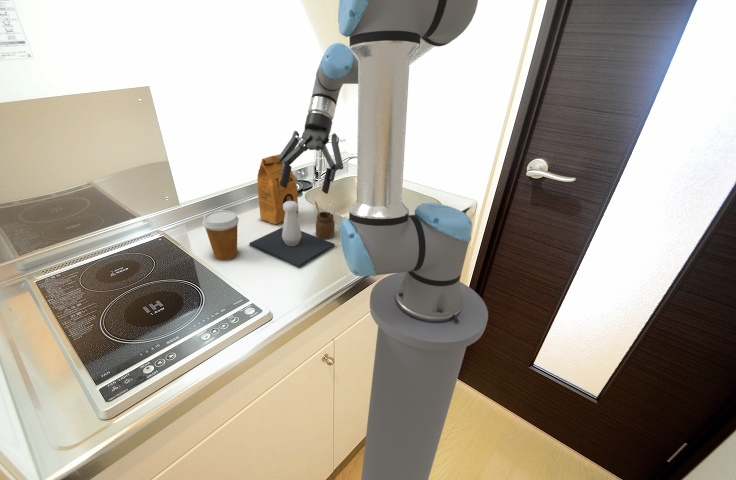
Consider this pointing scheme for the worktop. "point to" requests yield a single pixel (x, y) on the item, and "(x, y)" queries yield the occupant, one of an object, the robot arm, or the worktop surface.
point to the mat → (292, 247)
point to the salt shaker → (291, 224)
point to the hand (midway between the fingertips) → (303, 189)
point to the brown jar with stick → (325, 224)
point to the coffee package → (274, 190)
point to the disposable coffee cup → (222, 233)
